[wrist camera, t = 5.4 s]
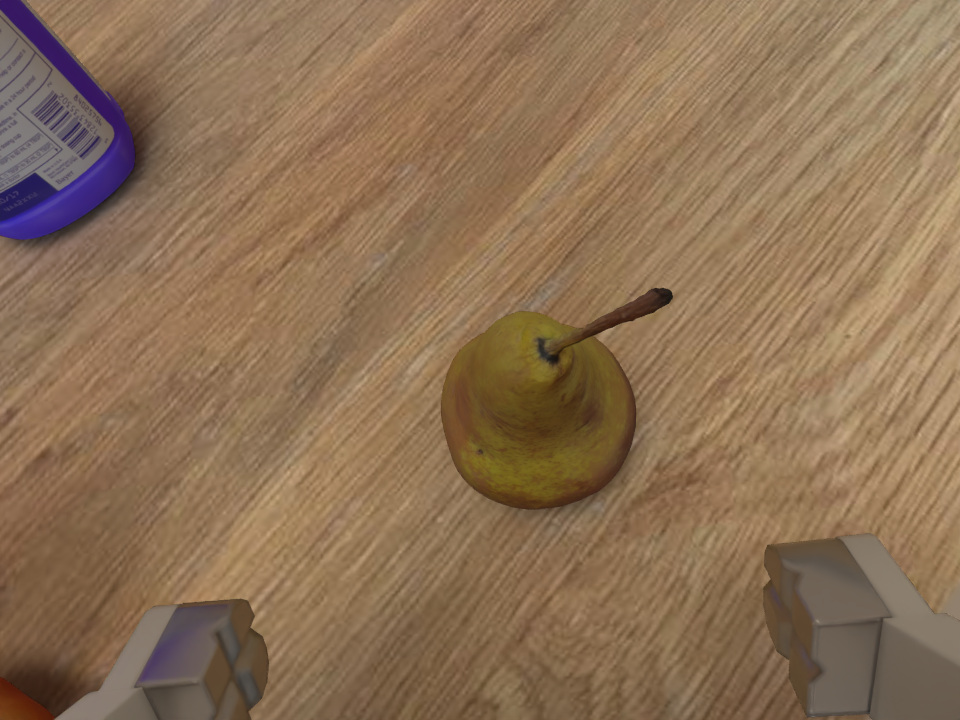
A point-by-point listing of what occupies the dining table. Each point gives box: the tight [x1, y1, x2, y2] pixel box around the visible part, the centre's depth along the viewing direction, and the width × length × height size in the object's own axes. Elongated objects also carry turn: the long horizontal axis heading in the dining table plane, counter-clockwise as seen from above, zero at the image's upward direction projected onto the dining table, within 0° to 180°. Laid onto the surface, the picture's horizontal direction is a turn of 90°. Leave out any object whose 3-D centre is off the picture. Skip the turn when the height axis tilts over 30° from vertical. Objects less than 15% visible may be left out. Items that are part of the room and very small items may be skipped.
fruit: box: [441, 288, 673, 509], centre depth 18 cm, size 6×6×12 cm
